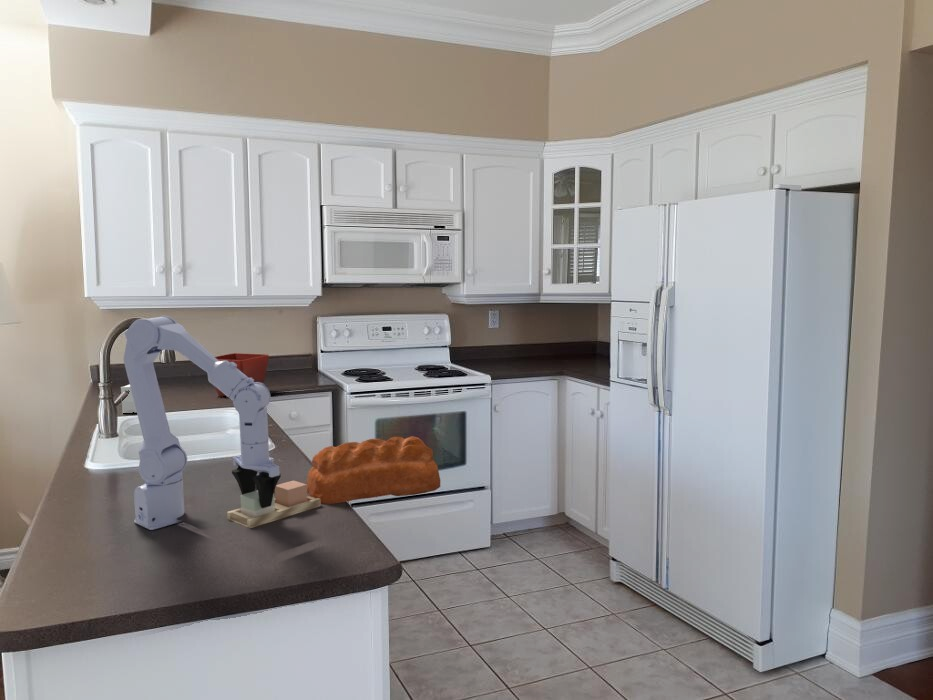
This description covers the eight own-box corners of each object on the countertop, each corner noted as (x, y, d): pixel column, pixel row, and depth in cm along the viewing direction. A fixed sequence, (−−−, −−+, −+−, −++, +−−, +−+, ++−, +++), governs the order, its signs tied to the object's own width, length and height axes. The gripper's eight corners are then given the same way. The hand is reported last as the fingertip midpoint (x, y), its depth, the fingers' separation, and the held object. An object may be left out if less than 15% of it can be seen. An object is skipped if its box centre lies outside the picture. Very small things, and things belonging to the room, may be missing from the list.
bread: (446, 491, 176) (445, 438, 175) (318, 512, 162) (316, 455, 161) (421, 475, 190) (420, 426, 189) (301, 493, 176) (299, 440, 175)
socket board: (250, 533, 149) (250, 521, 149) (227, 523, 155) (226, 511, 155) (321, 510, 163) (321, 499, 162) (297, 502, 169) (296, 491, 168)
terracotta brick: (288, 512, 158) (288, 489, 158) (275, 507, 162) (274, 485, 161) (307, 506, 162) (306, 484, 162) (294, 501, 165) (293, 480, 165)
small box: (136, 414, 275) (135, 386, 274) (122, 414, 275) (120, 386, 274) (146, 410, 283) (144, 383, 282) (132, 410, 283) (130, 383, 282)
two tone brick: (275, 516, 156) (274, 493, 155) (254, 523, 152) (253, 499, 151) (261, 511, 159) (260, 489, 158) (241, 517, 155) (240, 495, 155)
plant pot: (243, 400, 302) (241, 359, 300) (206, 397, 309) (204, 358, 307) (271, 392, 320) (269, 354, 318) (235, 390, 326) (234, 353, 324)
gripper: (290, 442, 152) (293, 505, 153) (251, 432, 161) (254, 492, 163) (261, 449, 147) (264, 514, 148) (222, 438, 156) (226, 500, 158)
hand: (257, 503), depth 155 cm, fingers open, 6 cm apart
